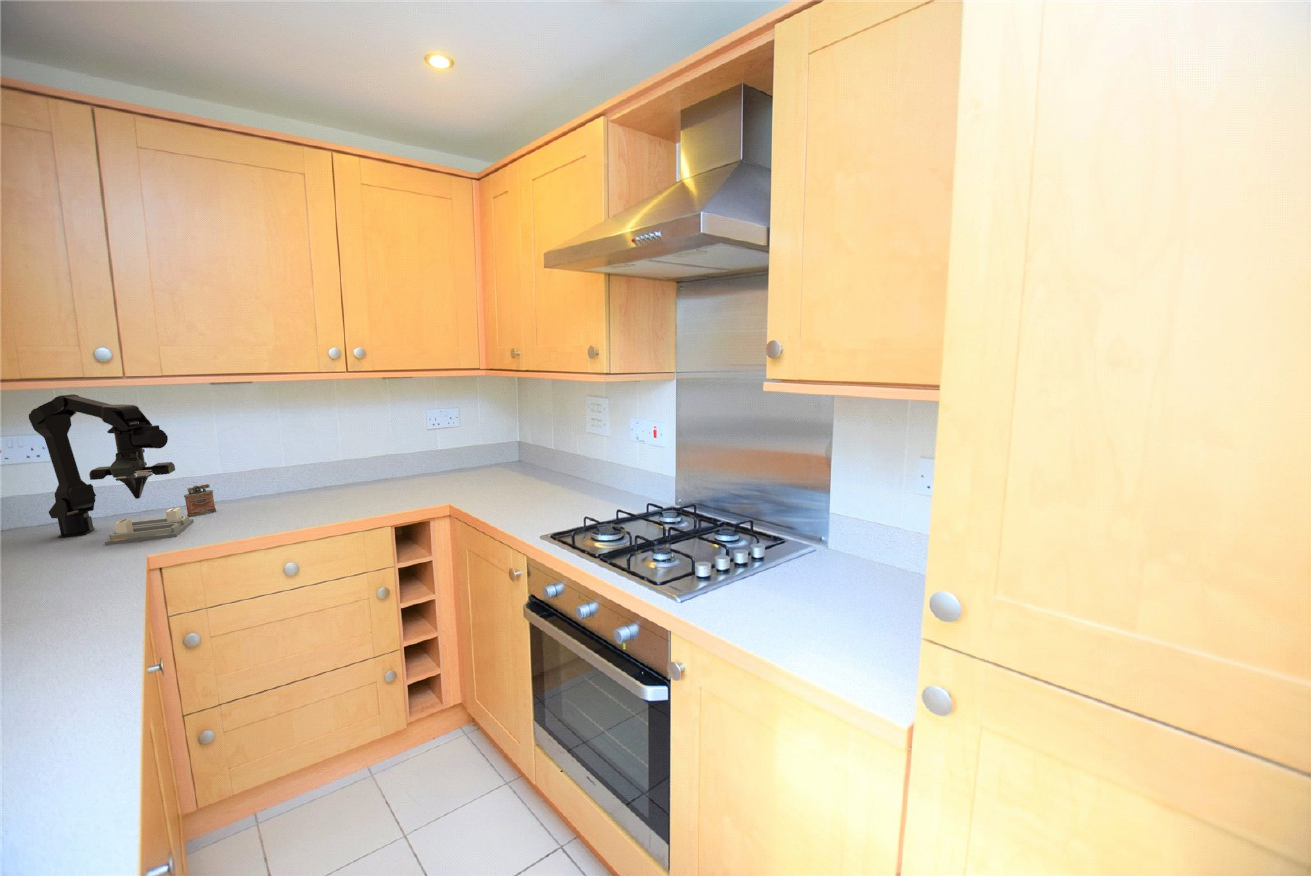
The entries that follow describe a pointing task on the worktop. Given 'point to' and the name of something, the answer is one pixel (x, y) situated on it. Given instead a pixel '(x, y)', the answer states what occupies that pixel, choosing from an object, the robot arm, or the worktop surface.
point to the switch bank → (151, 530)
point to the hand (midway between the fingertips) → (138, 498)
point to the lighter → (199, 501)
